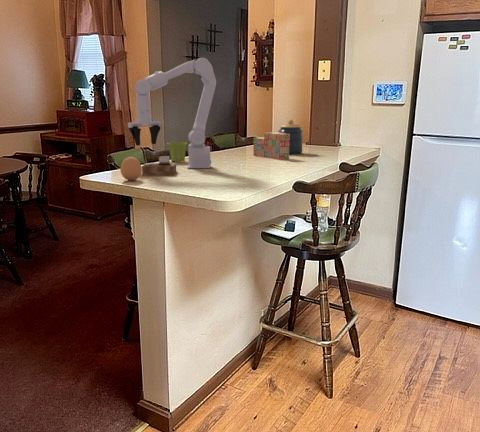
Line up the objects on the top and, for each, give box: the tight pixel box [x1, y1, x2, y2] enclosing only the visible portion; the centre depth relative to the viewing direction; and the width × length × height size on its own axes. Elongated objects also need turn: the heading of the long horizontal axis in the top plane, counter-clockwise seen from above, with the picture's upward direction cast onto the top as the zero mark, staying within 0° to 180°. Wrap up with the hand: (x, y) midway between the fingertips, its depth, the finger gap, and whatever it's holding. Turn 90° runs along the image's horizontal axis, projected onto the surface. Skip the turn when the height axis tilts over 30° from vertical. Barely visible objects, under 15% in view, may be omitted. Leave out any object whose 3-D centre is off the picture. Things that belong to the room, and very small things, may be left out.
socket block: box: [141, 162, 177, 177], centre depth 184 cm, size 12×10×4 cm
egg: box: [120, 156, 142, 182], centre depth 167 cm, size 7×7×8 cm
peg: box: [158, 155, 171, 165], centre depth 183 cm, size 4×4×4 cm
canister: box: [277, 119, 304, 156], centre depth 249 cm, size 13×13×18 cm
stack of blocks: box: [252, 131, 290, 161], centre depth 234 cm, size 21×6×12 cm, turn 35°
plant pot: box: [166, 141, 188, 163], centre depth 218 cm, size 9×9×9 cm
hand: (145, 144), depth 194 cm, fingers open, 7 cm apart
